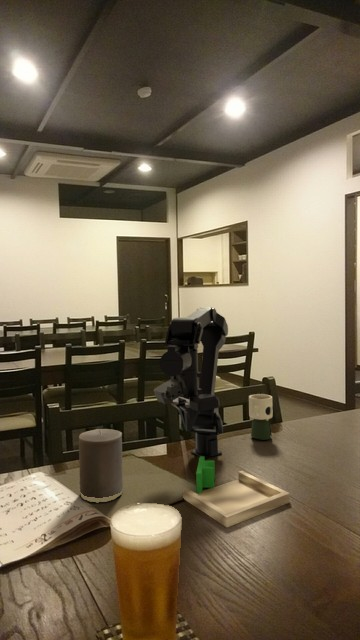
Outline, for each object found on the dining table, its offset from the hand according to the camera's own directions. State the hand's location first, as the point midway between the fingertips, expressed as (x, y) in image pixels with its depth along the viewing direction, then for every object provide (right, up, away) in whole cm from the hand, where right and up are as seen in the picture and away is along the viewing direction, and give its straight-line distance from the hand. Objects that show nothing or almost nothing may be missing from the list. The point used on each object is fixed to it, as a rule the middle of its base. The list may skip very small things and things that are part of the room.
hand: (188, 431), depth 110 cm
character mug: (+23, -9, +26) cm, 36 cm away
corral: (+10, -11, -14) cm, 20 cm away
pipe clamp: (+4, -11, -5) cm, 13 cm away
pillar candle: (-20, -12, -9) cm, 25 cm away
